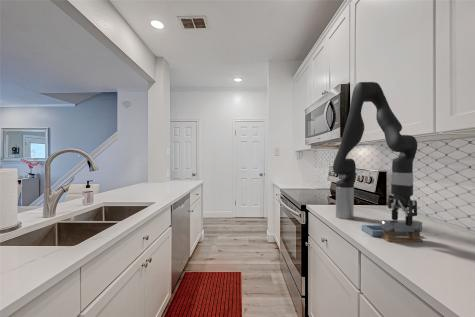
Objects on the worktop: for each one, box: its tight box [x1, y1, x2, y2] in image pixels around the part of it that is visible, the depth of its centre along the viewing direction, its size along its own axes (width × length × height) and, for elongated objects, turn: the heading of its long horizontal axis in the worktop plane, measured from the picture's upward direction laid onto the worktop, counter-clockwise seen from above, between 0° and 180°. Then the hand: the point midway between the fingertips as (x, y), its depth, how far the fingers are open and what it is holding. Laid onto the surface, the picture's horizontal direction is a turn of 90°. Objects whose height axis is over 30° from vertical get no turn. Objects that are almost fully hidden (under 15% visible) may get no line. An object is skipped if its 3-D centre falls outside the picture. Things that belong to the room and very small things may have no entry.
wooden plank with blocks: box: [380, 231, 424, 243], centre depth 100 cm, size 5×14×4 cm, turn 90°
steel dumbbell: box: [380, 219, 423, 233], centre depth 100 cm, size 5×16×4 cm, turn 90°
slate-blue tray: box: [361, 224, 407, 238], centre depth 108 cm, size 9×20×2 cm, turn 90°
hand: (401, 222), depth 100 cm, fingers open, 8 cm apart
